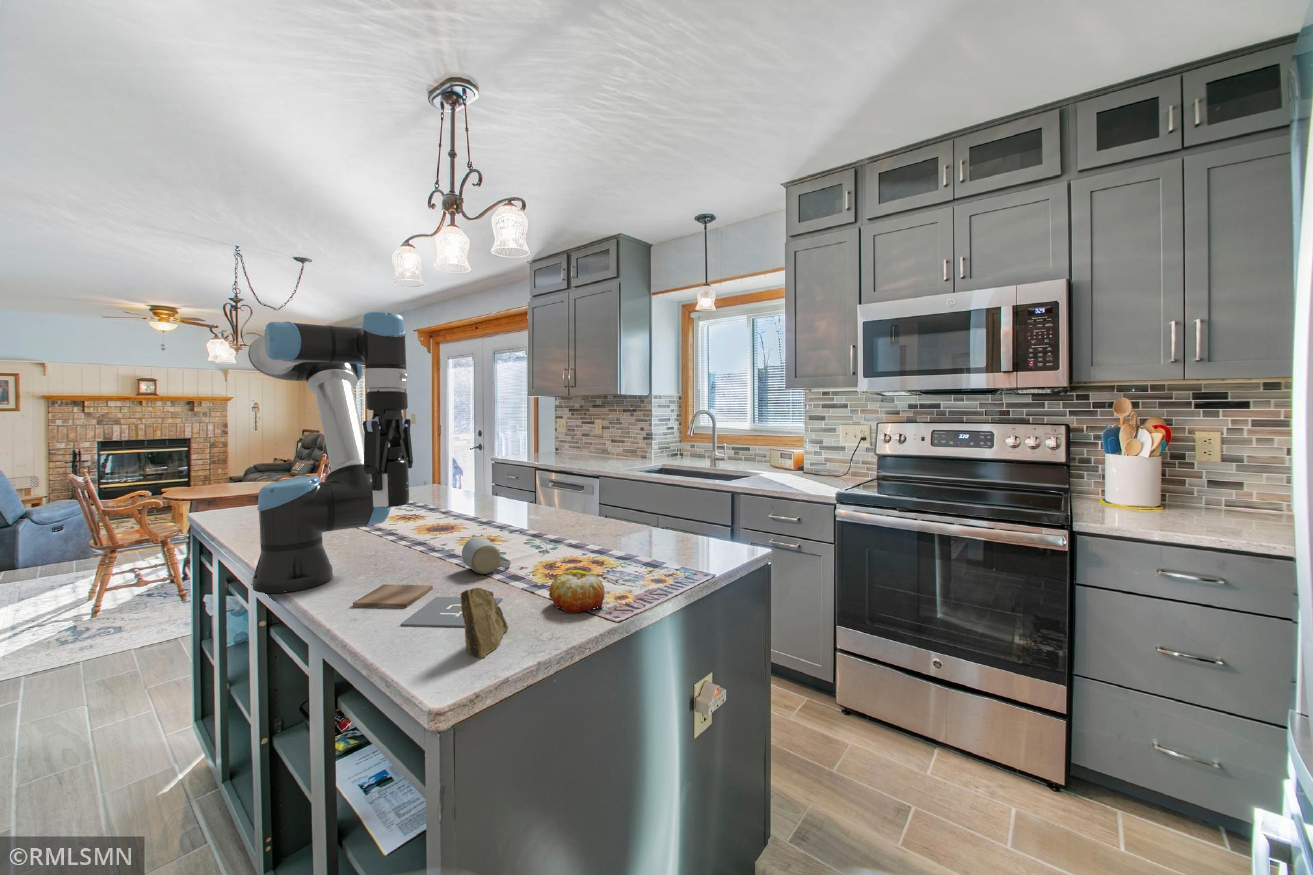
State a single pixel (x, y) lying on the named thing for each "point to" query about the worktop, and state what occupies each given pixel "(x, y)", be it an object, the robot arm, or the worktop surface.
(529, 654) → the worktop surface
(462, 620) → the tile
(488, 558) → the ceramic mug
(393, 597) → the walnut coaster
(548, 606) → the worktop surface
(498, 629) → the rock
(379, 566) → the worktop surface
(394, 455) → the supplement bottle
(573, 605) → the fruit
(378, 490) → the robot arm
